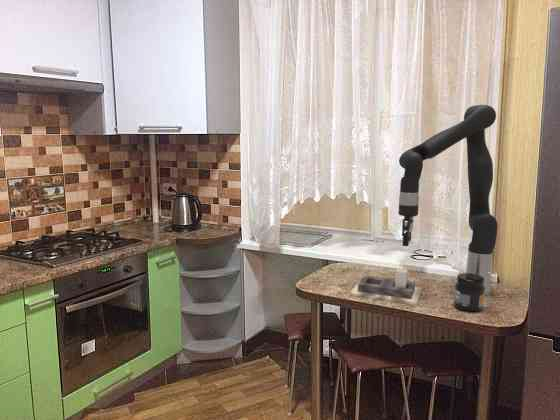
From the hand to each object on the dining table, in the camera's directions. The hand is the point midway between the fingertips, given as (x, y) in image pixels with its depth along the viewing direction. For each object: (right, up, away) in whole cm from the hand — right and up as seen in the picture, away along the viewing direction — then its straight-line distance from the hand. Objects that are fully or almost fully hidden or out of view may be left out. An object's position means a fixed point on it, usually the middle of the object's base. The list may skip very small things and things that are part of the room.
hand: (406, 243), depth 191 cm
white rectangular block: (-2, -20, +2) cm, 20 cm away
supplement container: (+20, -24, -10) cm, 33 cm away
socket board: (-7, -20, +4) cm, 22 cm away
